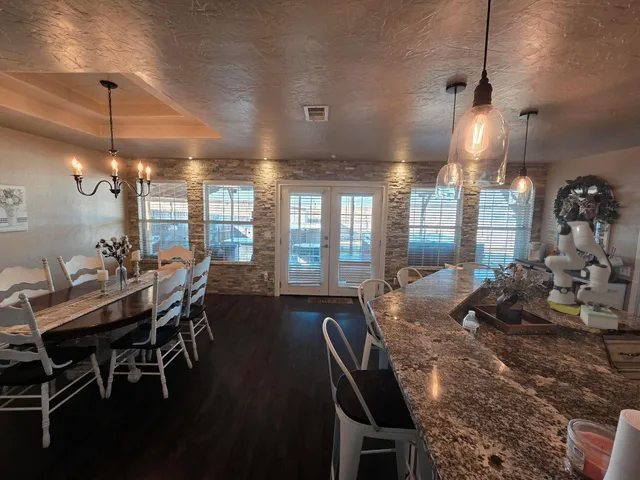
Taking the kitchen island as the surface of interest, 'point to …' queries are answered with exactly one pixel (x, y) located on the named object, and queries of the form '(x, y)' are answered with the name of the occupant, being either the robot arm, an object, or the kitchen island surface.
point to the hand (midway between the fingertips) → (596, 308)
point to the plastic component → (564, 308)
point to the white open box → (598, 321)
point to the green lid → (599, 312)
